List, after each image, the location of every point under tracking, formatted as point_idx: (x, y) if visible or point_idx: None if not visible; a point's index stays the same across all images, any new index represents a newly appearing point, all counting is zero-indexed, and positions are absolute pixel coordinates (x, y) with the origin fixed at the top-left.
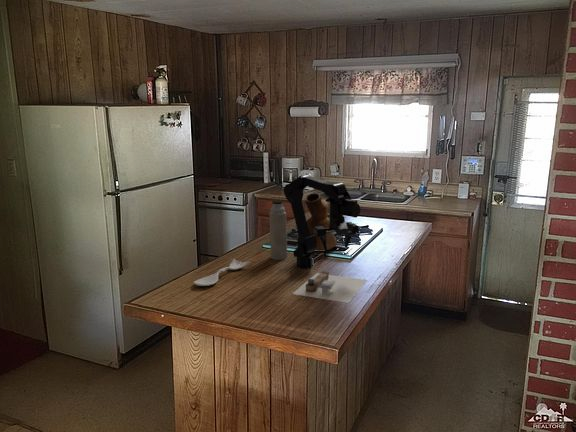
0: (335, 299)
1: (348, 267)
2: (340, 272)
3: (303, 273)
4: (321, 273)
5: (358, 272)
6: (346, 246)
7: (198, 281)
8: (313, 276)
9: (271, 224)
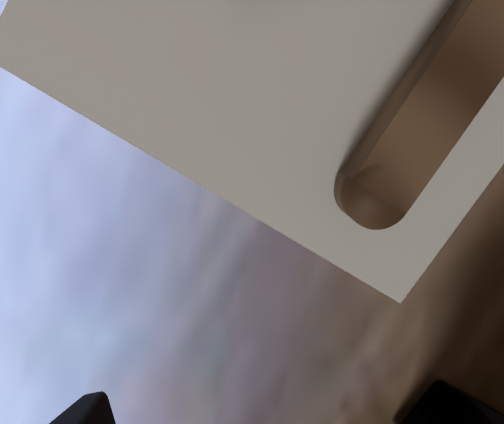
0: None
1: None
2: (197, 323)
3: (480, 338)
4: (417, 181)
5: (44, 304)
6: (80, 410)
7: None
8: (445, 234)
9: None
